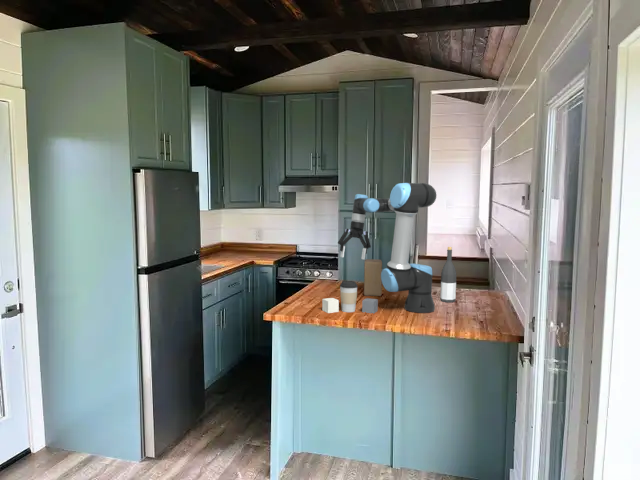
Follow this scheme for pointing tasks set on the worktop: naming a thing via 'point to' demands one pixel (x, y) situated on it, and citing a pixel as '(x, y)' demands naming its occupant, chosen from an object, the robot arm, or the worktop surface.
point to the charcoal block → (370, 305)
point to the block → (372, 277)
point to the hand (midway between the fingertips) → (352, 258)
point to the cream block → (330, 305)
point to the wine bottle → (448, 280)
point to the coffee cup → (348, 295)
